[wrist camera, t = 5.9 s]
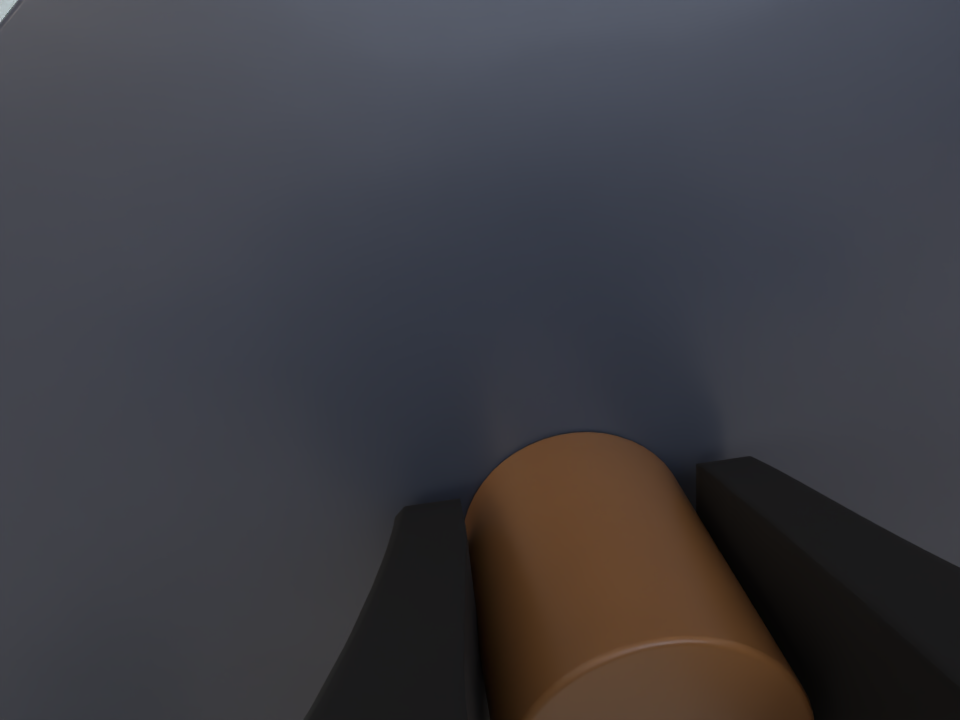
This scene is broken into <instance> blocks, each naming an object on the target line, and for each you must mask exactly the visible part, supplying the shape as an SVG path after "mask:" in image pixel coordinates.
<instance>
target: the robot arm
mask: <svg viewBox="0 0 960 720" xmlns="http://www.w3.org/2000/svg"><path fill="white" fill-rule="evenodd" d="M696 513H697V514H698V516H699V518H700V519H701V521H702V523H703V524H704V526H705V528H706V529H707V531H708V532H709V534H710V536H711V537H712V539H713V541H714V542H715V544H716V546H717V547H718V549H719V551H720V552H721V554H722V555H723V557H724V559H725V560H726V562H727V564H728V565H729V567H730V569H731V570H732V572H733V573H734V575H735V577H736V578H737V580H738V582H739V583H740V585H741V587H742V588H743V590H744V591H745V593H746V595H747V596H748V598H749V600H750V601H751V603H752V605H753V606H754V608H755V609H756V611H757V613H758V614H759V616H760V618H761V619H762V621H763V623H764V624H765V626H766V627H767V629H768V631H769V632H770V634H771V636H772V637H773V639H774V641H775V642H776V644H777V646H778V647H779V649H780V650H781V652H782V654H783V655H784V657H785V659H786V660H787V662H788V664H789V665H790V667H791V668H792V670H793V672H794V673H795V675H796V677H797V678H798V680H799V682H800V683H801V685H802V687H803V689H804V690H805V692H806V694H807V696H808V698H809V701H810V704H811V707H812V710H813V715H814V720H960V567H958V566H956V565H954V564H952V563H950V562H948V561H946V560H944V559H942V558H940V557H938V556H936V555H934V554H932V553H930V552H928V551H926V550H924V549H922V548H920V547H918V546H917V545H915V544H913V543H911V542H909V541H907V540H905V539H903V538H901V537H899V536H898V535H896V534H894V533H892V532H890V531H888V530H886V529H885V528H883V527H881V526H879V525H877V524H875V523H873V522H872V521H870V520H868V519H866V518H864V517H863V516H861V515H859V514H857V513H855V512H853V511H852V510H850V509H848V508H846V507H844V506H843V505H841V504H839V503H837V502H835V501H834V500H832V499H830V498H828V497H827V496H825V495H823V494H821V493H819V492H818V491H816V490H814V489H812V488H810V487H809V486H807V485H805V484H803V483H801V482H800V481H798V480H796V479H794V478H792V477H791V476H789V475H787V474H785V473H783V472H781V471H780V470H778V469H776V468H774V467H772V466H770V465H768V464H766V463H764V462H762V461H760V460H758V459H756V458H754V457H752V456H746V457H739V458H732V459H726V460H719V461H712V462H705V463H698V464H696ZM304 720H490V716H489V710H488V703H487V697H486V690H485V684H484V678H483V671H482V665H481V658H480V650H479V637H478V623H477V611H476V603H475V595H474V587H473V579H472V572H471V564H470V556H469V548H468V540H467V532H466V527H465V521H464V516H463V511H462V506H461V501H460V498H458V499H452V500H445V501H438V502H431V503H424V504H417V505H411V506H404V507H403V508H402V510H401V511H400V512H399V513H398V514H397V515H396V517H395V520H394V525H393V529H392V533H391V536H390V539H389V543H388V546H387V549H386V552H385V554H384V557H383V560H382V563H381V565H380V568H379V570H378V573H377V575H376V578H375V580H374V583H373V585H372V588H371V590H370V592H369V594H368V596H367V599H366V601H365V603H364V605H363V607H362V610H361V612H360V614H359V616H358V618H357V621H356V623H355V625H354V627H353V629H352V632H351V634H350V636H349V638H348V640H347V642H346V644H345V646H344V648H343V650H342V651H341V653H340V655H339V657H338V659H337V661H336V662H335V664H334V666H333V668H332V670H331V672H330V673H329V675H328V677H327V679H326V681H325V683H324V684H323V686H322V688H321V690H320V692H319V694H318V695H317V697H316V699H315V701H314V703H313V704H312V706H311V708H310V710H309V711H308V713H307V715H306V716H305V718H304Z"/></svg>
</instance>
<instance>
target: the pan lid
mask: <svg viewBox="0 0 960 720" xmlns="http://www.w3.org/2000/svg"><path fill="white" fill-rule="evenodd" d="M746 456H752V457H754V458H756V459H758V460H760V461H762V462H764V463H766V464H768V465H770V466H772V467H774V468H776V469H778V470H780V471H781V472H783V473H785V474H787V475H789V476H791V477H792V478H794V479H796V480H798V481H800V482H801V483H803V484H805V485H807V486H809V487H810V488H812V489H814V490H816V491H818V492H819V493H821V494H823V495H825V496H827V497H828V498H830V499H832V500H834V501H835V502H837V503H839V504H841V505H843V506H844V507H846V508H848V509H850V510H852V511H853V512H855V513H857V514H859V515H861V516H863V517H864V518H866V519H868V520H870V521H872V522H873V523H875V524H877V525H879V526H881V527H883V528H885V529H886V530H888V531H890V532H892V533H894V534H896V535H898V536H899V537H901V538H903V539H905V540H907V541H909V542H911V543H913V544H915V545H917V546H918V547H920V548H922V549H924V550H926V551H928V552H930V553H932V554H934V555H936V556H938V557H940V558H942V559H944V560H946V561H948V562H950V563H952V564H954V565H956V566H958V567H960V0H18V1H17V2H16V3H15V4H14V6H13V7H12V8H11V9H10V11H9V12H8V13H7V15H6V16H5V17H4V18H3V20H2V21H1V22H0V720H304V718H305V716H306V715H307V713H308V711H309V710H310V708H311V706H312V704H313V703H314V701H315V699H316V697H317V695H318V694H319V692H320V690H321V688H322V686H323V684H324V683H325V681H326V679H327V677H328V675H329V673H330V672H331V670H332V668H333V666H334V664H335V662H336V661H337V659H338V657H339V655H340V653H341V651H342V650H343V648H344V646H345V644H346V642H347V640H348V638H349V636H350V634H351V632H352V629H353V627H354V625H355V623H356V621H357V618H358V616H359V614H360V612H361V610H362V607H363V605H364V603H365V601H366V599H367V596H368V594H369V592H370V590H371V588H372V585H373V583H374V580H375V578H376V575H377V573H378V570H379V568H380V565H381V563H382V560H383V557H384V554H385V552H386V549H387V546H388V543H389V539H390V536H391V533H392V529H393V525H394V520H395V517H396V515H397V514H398V513H399V512H400V511H401V510H402V508H403V507H404V506H411V505H417V504H424V503H431V502H438V501H445V500H452V499H458V498H460V501H461V506H462V511H463V516H464V521H465V527H466V532H467V540H468V548H469V556H470V564H471V572H472V579H473V587H474V595H475V603H476V611H477V623H478V637H479V650H480V658H481V665H482V671H483V678H484V684H485V690H486V697H487V703H488V710H489V716H490V720H814V715H813V710H812V707H811V704H810V701H809V698H808V696H807V694H806V692H805V690H804V689H803V687H802V685H801V683H800V682H799V680H798V678H797V677H796V675H795V673H794V672H793V670H792V668H791V667H790V665H789V664H788V662H787V660H786V659H785V657H784V655H783V654H782V652H781V650H780V649H779V647H778V646H777V644H776V642H775V641H774V639H773V637H772V636H771V634H770V632H769V631H768V629H767V627H766V626H765V624H764V623H763V621H762V619H761V618H760V616H759V614H758V613H757V611H756V609H755V608H754V606H753V605H752V603H751V601H750V600H749V598H748V596H747V595H746V593H745V591H744V590H743V588H742V587H741V585H740V583H739V582H738V580H737V578H736V577H735V575H734V573H733V572H732V570H731V569H730V567H729V565H728V564H727V562H726V560H725V559H724V557H723V555H722V554H721V552H720V551H719V549H718V547H717V546H716V544H715V542H714V541H713V539H712V537H711V536H710V534H709V532H708V531H707V529H706V528H705V526H704V524H703V523H702V521H701V519H700V518H699V516H698V514H697V513H696V464H698V463H705V462H712V461H719V460H726V459H732V458H739V457H746Z"/></svg>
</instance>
